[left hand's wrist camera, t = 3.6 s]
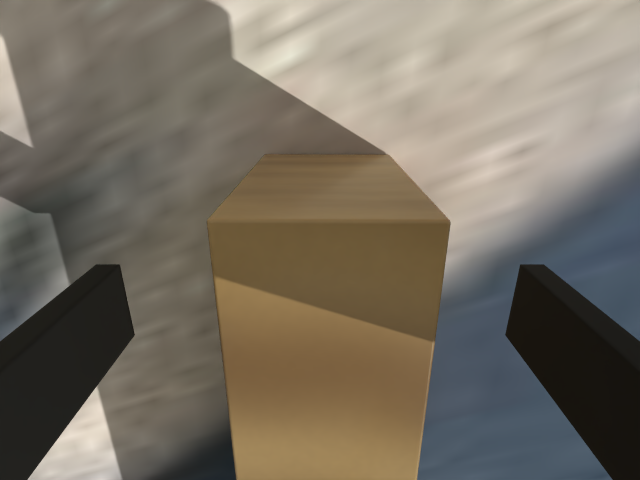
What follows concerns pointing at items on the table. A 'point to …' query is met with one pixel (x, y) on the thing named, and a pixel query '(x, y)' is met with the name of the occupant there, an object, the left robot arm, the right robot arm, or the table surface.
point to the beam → (327, 316)
